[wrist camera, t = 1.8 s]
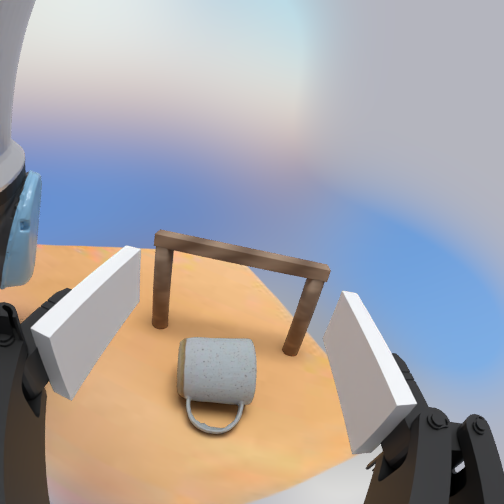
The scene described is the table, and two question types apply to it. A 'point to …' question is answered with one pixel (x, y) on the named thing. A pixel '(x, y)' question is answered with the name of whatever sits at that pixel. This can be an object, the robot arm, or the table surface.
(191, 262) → the table surface
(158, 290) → the walnut gate
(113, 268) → the robot arm
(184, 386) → the ceramic mug
